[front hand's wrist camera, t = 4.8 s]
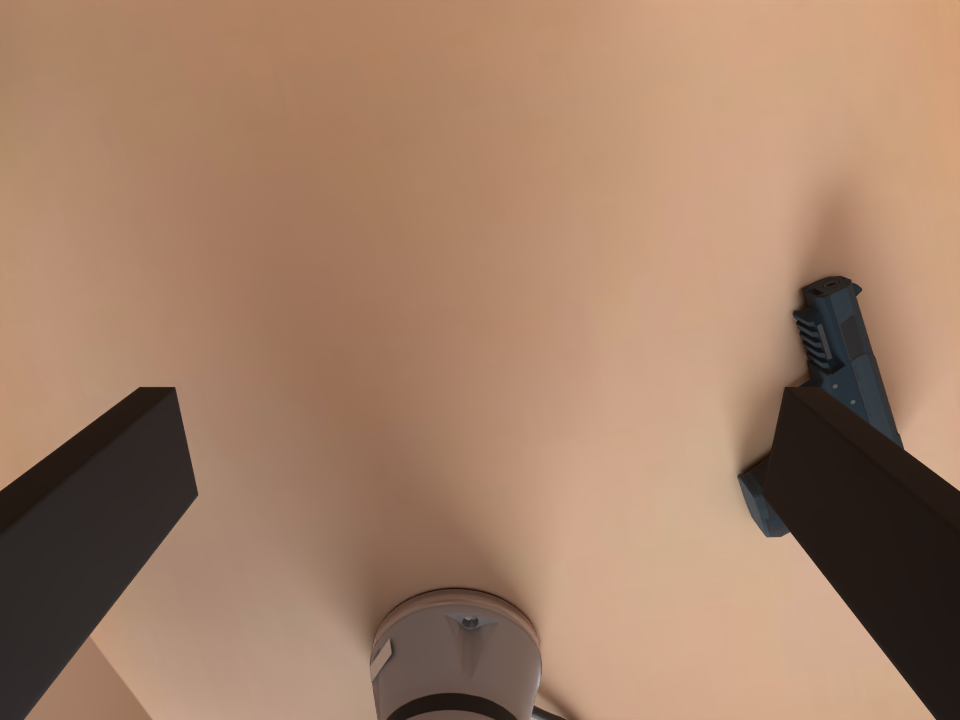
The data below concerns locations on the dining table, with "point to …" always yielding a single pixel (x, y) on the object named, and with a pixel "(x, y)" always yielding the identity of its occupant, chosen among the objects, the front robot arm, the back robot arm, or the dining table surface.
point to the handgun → (830, 376)
